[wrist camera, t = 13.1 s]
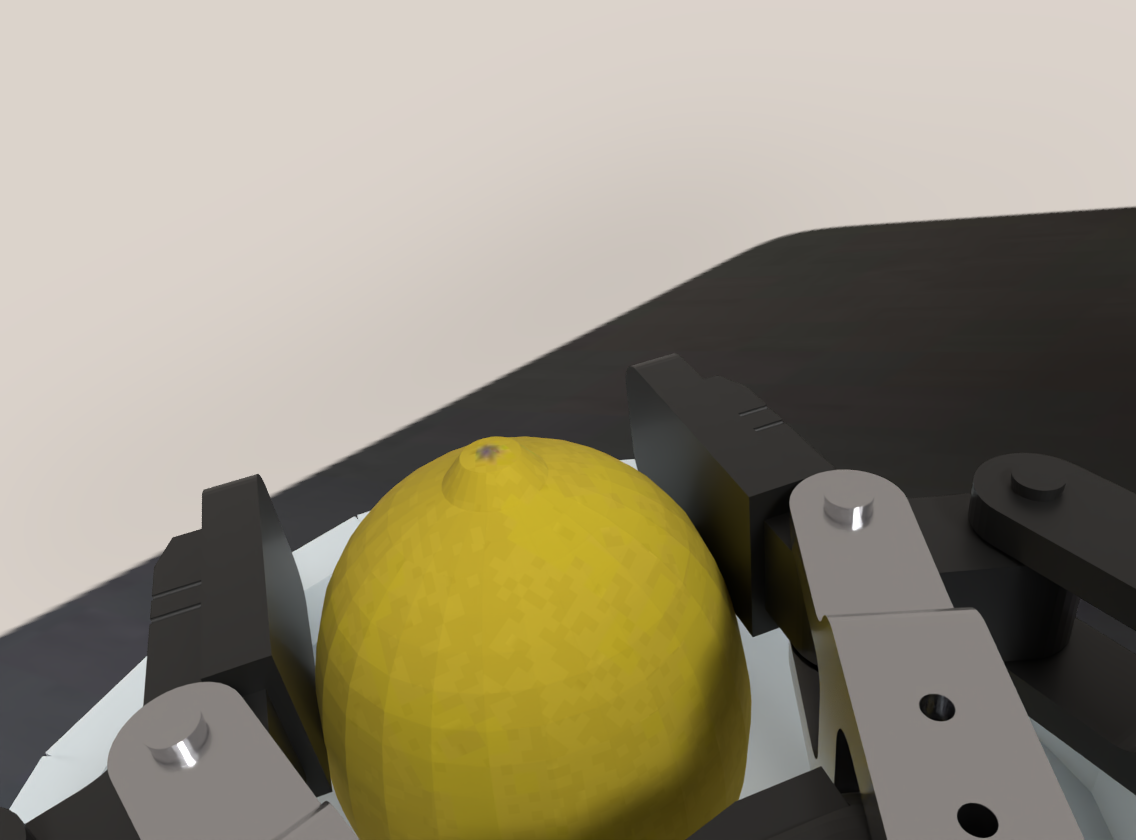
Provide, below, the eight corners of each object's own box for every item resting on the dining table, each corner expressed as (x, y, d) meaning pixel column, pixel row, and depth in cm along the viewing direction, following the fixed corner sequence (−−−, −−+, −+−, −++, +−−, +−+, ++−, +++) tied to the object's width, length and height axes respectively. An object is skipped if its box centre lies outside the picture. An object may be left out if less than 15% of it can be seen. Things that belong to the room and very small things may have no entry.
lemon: (359, 807, 15) (203, 416, 11) (642, 678, 17) (602, 294, 13) (464, 1162, 11) (276, 743, 7) (832, 941, 13) (866, 492, 8)
